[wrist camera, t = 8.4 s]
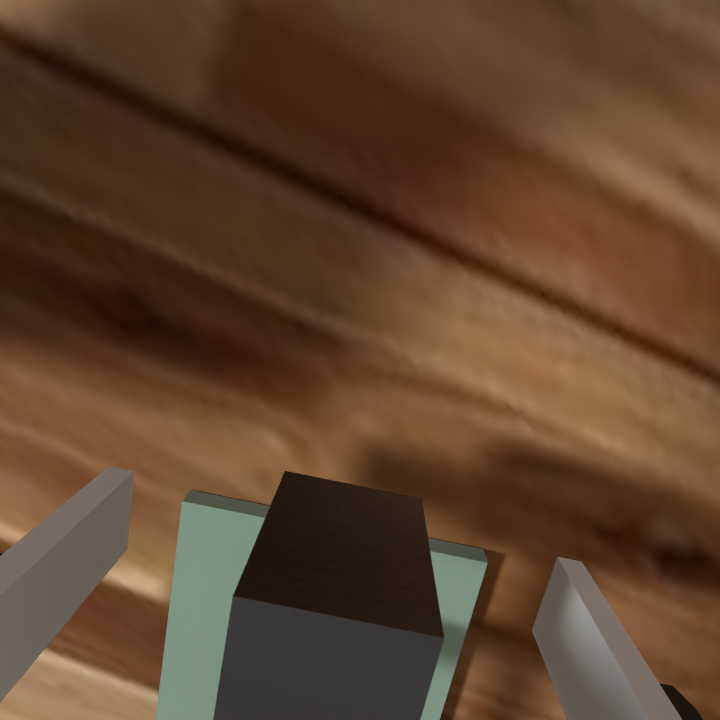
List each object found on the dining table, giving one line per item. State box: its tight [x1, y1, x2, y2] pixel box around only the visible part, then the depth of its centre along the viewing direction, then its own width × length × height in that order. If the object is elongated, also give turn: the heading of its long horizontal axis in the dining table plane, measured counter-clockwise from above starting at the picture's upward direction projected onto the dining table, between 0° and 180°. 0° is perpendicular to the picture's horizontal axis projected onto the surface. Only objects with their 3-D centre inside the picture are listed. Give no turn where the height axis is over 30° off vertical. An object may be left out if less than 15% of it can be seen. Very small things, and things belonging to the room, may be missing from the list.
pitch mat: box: [156, 490, 488, 720], centre depth 24 cm, size 20×14×1 cm
